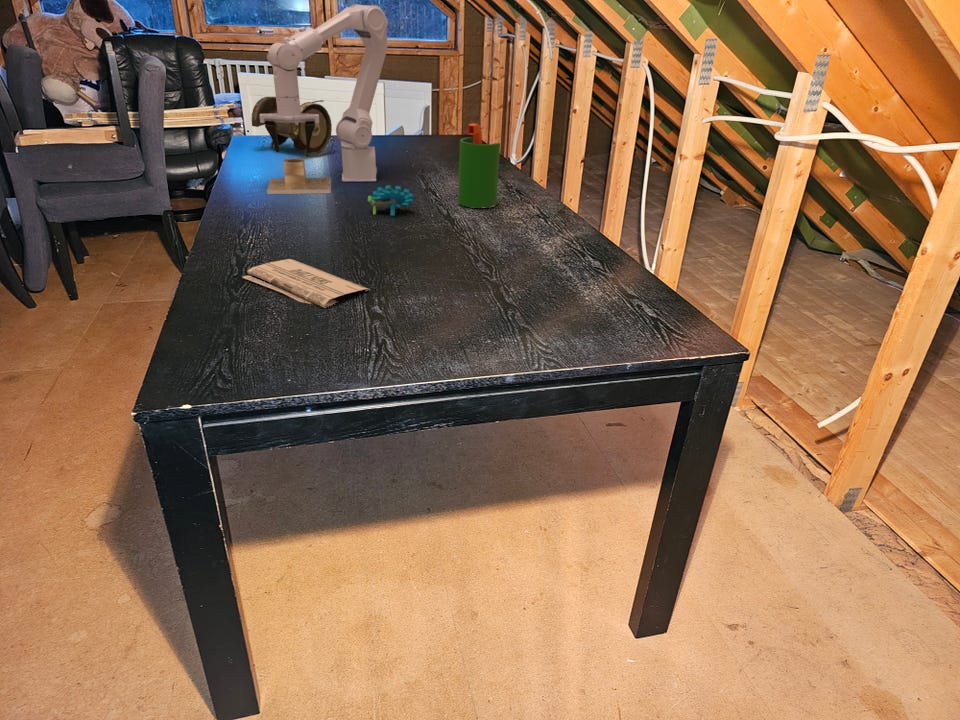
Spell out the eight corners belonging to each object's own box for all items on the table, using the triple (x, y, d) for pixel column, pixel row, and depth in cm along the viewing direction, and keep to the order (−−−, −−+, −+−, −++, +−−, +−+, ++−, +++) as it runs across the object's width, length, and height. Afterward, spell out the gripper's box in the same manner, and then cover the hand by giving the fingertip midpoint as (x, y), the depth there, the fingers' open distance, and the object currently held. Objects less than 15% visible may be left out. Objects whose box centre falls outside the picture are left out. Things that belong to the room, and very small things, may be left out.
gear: (417, 202, 162) (408, 181, 152) (417, 224, 160) (408, 203, 151) (374, 205, 163) (362, 185, 154) (373, 227, 162) (361, 207, 152)
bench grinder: (292, 152, 196) (310, 85, 193) (242, 138, 206) (259, 74, 203) (336, 171, 214) (353, 110, 211) (288, 157, 224) (304, 99, 221)
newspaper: (239, 281, 121) (238, 268, 120) (293, 270, 130) (293, 257, 129) (319, 317, 109) (319, 303, 108) (373, 301, 118) (373, 288, 117)
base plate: (331, 181, 182) (329, 162, 179) (330, 193, 172) (329, 173, 169) (271, 182, 179) (269, 162, 177) (267, 194, 169) (264, 173, 166)
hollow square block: (306, 181, 177) (304, 158, 174) (305, 186, 173) (303, 163, 170) (287, 181, 176) (284, 158, 173) (285, 186, 172) (283, 163, 169)
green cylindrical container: (501, 203, 170) (506, 122, 160) (487, 211, 163) (491, 128, 153) (466, 197, 173) (468, 118, 164) (451, 205, 166) (452, 123, 156)
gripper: (255, 98, 159) (262, 155, 166) (316, 98, 162) (321, 154, 169) (258, 93, 165) (265, 149, 172) (317, 94, 168) (321, 148, 175)
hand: (293, 151), depth 171 cm, fingers open, 7 cm apart
